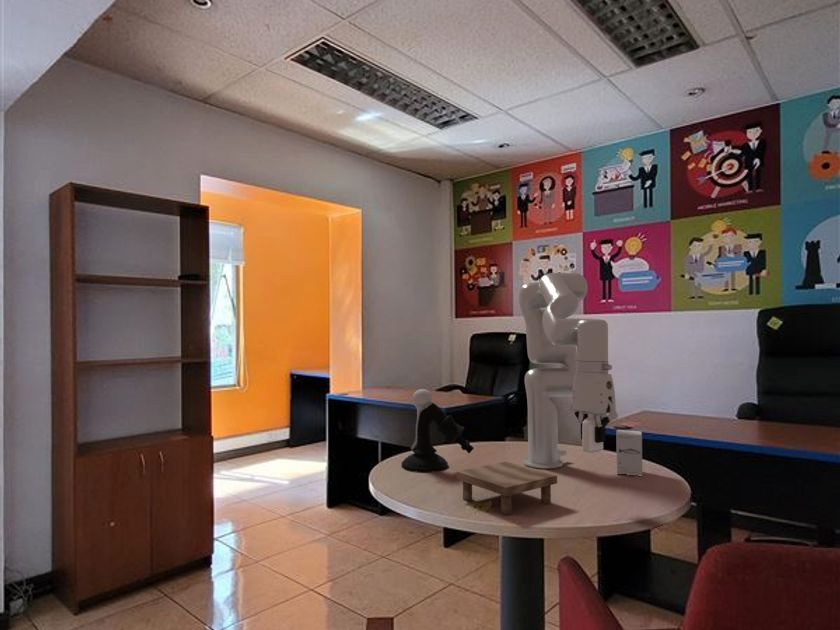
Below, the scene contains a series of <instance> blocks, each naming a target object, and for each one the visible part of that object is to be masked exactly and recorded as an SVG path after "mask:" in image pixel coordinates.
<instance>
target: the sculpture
mask: <svg viewBox="0 0 840 630" xmlns="http://www.w3.org/2000/svg"><path fill="white" fill-rule="evenodd" d="M432 398H433V397H432V393H431V392H430V391H429V390H427V389H425V388H421V389H417V390H416V391H415V392H414V393H413V397H412V400H413V402H414V404H415V405H414V406H415V407H416V415H417V417H416V422H415V423H416V424H415V439H414V441H413V443H412V445H411V446H410V449H411V450H412V452H413V453H411V454H410V455H408V456H407V457H405V458H404V460H403V461H402V462H401V468H402V469H403V468H404V470H405V469H406V471H409V470H410V471H409V472H413V471H417V472H416V473H431V472H432V471H436V472H439V471H440V470H441V471H444V470H446V469H448V468H449V467H448V466H449V463H448V461H447V460H446V459H445V458H444V457H443V456H441V455H439V454H437V452H438V451H437V449H436V448H435V447H434V446H433V443H432V436H431V425H432V423H433V422H434V423H435V424H436V426H437V427H436V431H438V432H439V433H441V434H442V435H444V437H445V439H446V442H447V444H448V445H450V444H453V443H454V442H456V443H458V445H460V447H461V450H462V451H466V452H467V453H468V454H470V453H471V452H472V451H473V450H474V448H475V447H474V446H473V445H471V442H470V441H469V440H466V439H465V438H464V437H463V436H462V434H463V431H464V429H465V427H464V426H463V425H462V426H461V425H459V424H458V423H456V421H455V420H454V418H453V415H452V414H450V415H449V414H448V415H447V414H446V413H445V412H444V410H443V409H441V408H440V407H439V406H438V405H437V404H436V403H435V402H433V401H432V400H433V399H432ZM441 471H440V472H441ZM432 473H433V472H432Z"/></svg>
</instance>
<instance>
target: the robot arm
mask: <svg viewBox="0 0 840 630" xmlns="http://www.w3.org/2000/svg"><path fill="white" fill-rule="evenodd" d="M587 293H588V282H587V279H586V278H585V277H584V275H582V274H581V273H578V272H577V273H576V272H550V273H547V274H545V275H543V276H542V277H541V278H540V279H539V281H537V282H528V283H526V284H523V285H522V286H521V287H520V290H519V293H518V304H519V307H520V312H521V314H522V317H523V320H524V323H525V333H526V336H525V337H526V348H527V349H526V350H527V357H528V359H529V361H530V362H531V363H532V364H538V365H539V364H540V365H552V364H553V365H559V366H560V367H536V368H532V369H529V370H528V371H526V372H525V375H524V386H525V393H526V399H527V400H526V401H527V402H526V403H527V438H528V439H527V441H528V443H527V446H528V451H527V452H528V455H527V457H526V458H523V464H524V465H525V466H526V467H527V466H528V467H529V468H533V469H534V468H536V469H548V470H549V469H552V470H553V469H558V468H559V469H560V468H561V467H563V465H564V461H563V460H562V459H561V457H564V456H566V455H567V450H566V449H561V450H560V449H559V444H558V443H559V437H558V435H559V433H558V422H559V421H558V410H557V408H556V405H555V404H554V403H553V402H552V401H551V399H550V398H554V397H555V398H556V397H558V398H559V397H560V398H561V397H562V398H564V397H567V398H568V397H572V398H571V400H572V403H571V405H570V407H569V411H570V412H571V413H572V414H573V415H574V416H575V417H576V419H577V422H578V423H579V424H580V439H581V440H582V425H583V421H584V420H585V419H586V418H588V413H593V414H596V421H597V426H596V427H595V442H596V443H600V442H603V443H605V441H606V427H607V426H608V424H609V423H610V422H612V421H613V420H615V419H617V418H618V417H619V414H618V413H617V410H616V393H615V385H614V379H613V376H612V374H611V373H609V371H611V370H612V369H613V366H612V364H609V327H608V322H607V321H606V320H605V319H600V318H599V319H598V318H596V319H595V318H575V317H573V318H569V317H571V316H573V315H574V314H575V313H576V311H577V310H578V308H579V305H580V304H579V303H580V302H581V301H583V300H584V299H585V297H586V296H587ZM543 308H544V310H543Z"/></svg>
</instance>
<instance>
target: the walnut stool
mask: <svg viewBox="0 0 840 630" xmlns="http://www.w3.org/2000/svg"><path fill="white" fill-rule="evenodd" d="M456 480H458V481H461V482H462V500H464V501H468V502H469V501H472V500H473V486H475V487H479V488H480V489H484V490H486V491H488V492H489V491H490V492H493V493H494V494H498V495H500V515H501V516H505V517H509V516H512V496H513V495H516V494H521V493H524V492H525V493H526V492H529V491H533V490H536V489H540V503H541V504H542V505H547V504H548V505H551V503H552V500H551V499H552V494H551V493H552V490H551V489H552V487H551V486H553V485H556V484H558V475H557V474H553V473H549V472H545V471H542V470H538V469H534V468H533V467H529V466H528V467H527V466H523V465H519V464H516V463H513V462H509V461H502V462H497V463H493V464H492V463H491V464H487V465H481V466H478V467H472V468H467V469H462V470H457V471H456Z"/></svg>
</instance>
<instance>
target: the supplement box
mask: <svg viewBox="0 0 840 630" xmlns="http://www.w3.org/2000/svg"><path fill="white" fill-rule="evenodd" d="M615 434H616V438H615V439H616V440H615V441H616V443H615V444H616V446H615V447H616V475H617V474H629V475H642V476H643V432H642V431H639V430H626V429H624V430H623V429H616V433H615ZM629 475H628V476H629Z"/></svg>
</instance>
